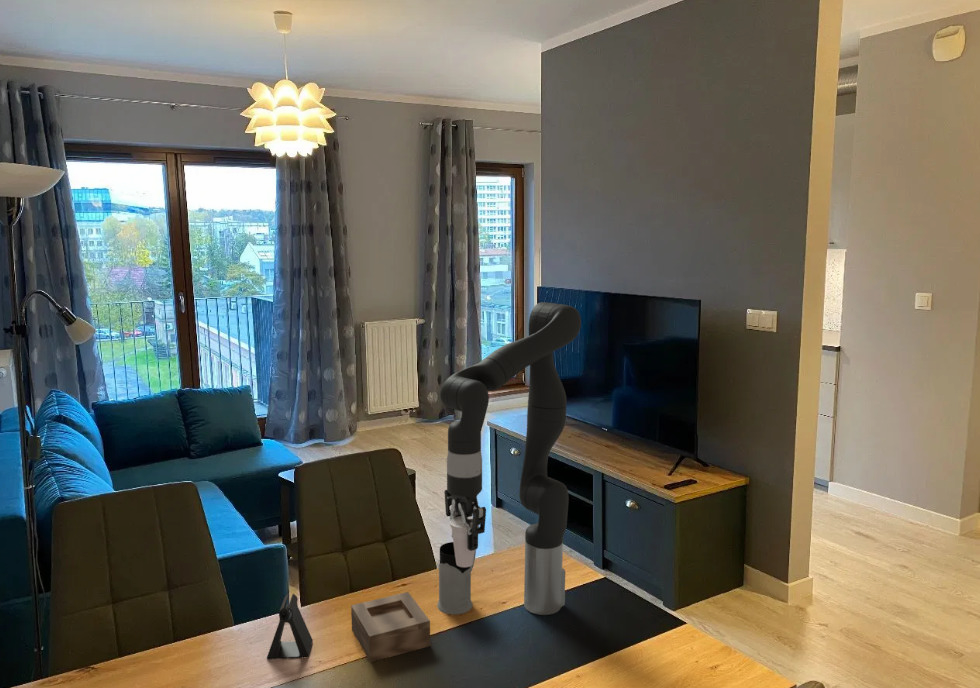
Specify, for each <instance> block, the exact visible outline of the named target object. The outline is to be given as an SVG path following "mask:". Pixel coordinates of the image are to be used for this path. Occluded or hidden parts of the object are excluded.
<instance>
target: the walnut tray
mask: <svg viewBox="0 0 980 688" xmlns="http://www.w3.org/2000/svg"><path fill="white" fill-rule="evenodd" d="M350 607H351V608H350V610H351V611H350V612H351V613H350V614H351V630H352V633H353V635H354V636H355V638H356V640H357V641H358V643H359V645H360V647H361V649H362V650H364V651H363V652H364V654H365V656H366V658H367V659H369V660H368V661H369V663H372V662H376V660H377V661H380V659H381V660H384V659H383V658H385V659H388V658H390V657H394V656H398V655H403V654H406V653H409V652H414V651H417V649H418V650H421V649H424V648H428V647H431V620H430V619H429V617H428V616H427V614H425V612H424V611H423V610H422V608H421V607H420V605H419V604H418V602H417V601H415V599H414V598H413V597H412V595H411V594H410V593H409V591H407V592H402V593H397V594H394V595H393V594H392V595H390V596H385V597H381V598H377V599H372V600H369V601H363V602H359V603H356V604H351V606H350ZM387 657H388V658H387Z"/></svg>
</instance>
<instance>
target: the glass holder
mask: <svg viewBox="0 0 980 688" xmlns="http://www.w3.org/2000/svg"><path fill="white" fill-rule="evenodd" d="M476 550H477V549H476ZM476 550H475V553H474V561H473V565H472V566H470V567H459V566H457V564H456V558H455V551H454V543H453V541H450V542H445V543H444V544H442V545H441V546H440V547H439V564H438V601H437V605H436V607H437V609H438V610H439V611H440V612H442V613H443V614H447V615H462V614H466V613H467V612H469V611H471V610H472V608H473V601H472V599H471V597H472V596H471V595H472V593H471V592H472V589H471V588H472V584H471V583H472V578H471V577H472V572H473V568H474V566H475V565H474V564H475V561H476V553H477V551H476Z"/></svg>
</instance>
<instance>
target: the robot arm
mask: <svg viewBox="0 0 980 688" xmlns="http://www.w3.org/2000/svg"><path fill="white" fill-rule="evenodd" d="M581 329H582V318H581V314H580V313H579V311H578V310H577V309H576V307H574V306H571V305H567V304H562V303H555V302H545V301H542V302H540V301H539V302H538V303H537V304H535V305H534V306H533V308H532V309H531V311H530V314H529V319H528V336H526V337H523V338H520V339H517V340H515V341H511V342H509V343H507V344H504V345H502V346H500V347H499V348H497V349H496V350H494V351H493V352H492V353H490V354H488V355H487V356H486V357H485V358H483V359H482V360H481V361H480V362H477V363H476V364H472V365H471V366H468V367H465V368H463V369H462V370H459V371H457V372H455V373H453V374H451V375H450V376H448V378H446V380H444V382H443V384H442V386H441V387H440V392H439V396H440V401H441V402H442V404H443V405H445V407H446V408H448V409H452V410H454V411H455V410H456V411H458V412H461V417H460V420H455V421H452V422H451V423H450V424H449V426H448V427H447V456H446V489H445V490H444V506H445V515H446V517H449V522H450V521H451V520H452V519H453V518H455V517H459V516H462V519H463V523H464V524H465V525H466V527H467V532H468V534H467V548H468V550H470V551H472V550H478V548H479V535H481V534H483V533H485V532H486V531H485V529H486V517H487V509H486V507H485V506H482V507H481V506H480V505H479V502H478V496H479V495H480V493H481V492H482V490H483V455H482V448H481V447H482V428H483V426H484V422H485V418H486V416H487V415H486V414H487V411H488V408H489V402H490V401H489V400H490V399H489V398H490V396H489V392H491V391H493V392H494V391H496V390H498V389H500V388H501V387H503V386H504V385H506V384H507V383H508V382H509V381H510V380H512V379H513V378H514V377H515V376H517V375H518V374H519V373H520V372H522V371H523V370H524V369H526V368H527V367H529V380H528V397H527V411H526V412H527V413H526V414H527V415H526V436H525V438H526V439H525V448H524V457H523V464H522V470H521V475H520V476H521V477H520V482H519V489H518V490H519V493H518V495H519V501H520V503H521V505H522V506H523V508H525V509H526V510H528V511H530V512H533V513H535V514H537V515H538V522H536V523H533V524H530V525H529V526H528V527H526V528H525V534H524V539H525V540H524V544H525V545H524V580H523V581H524V586H523V587H524V588H523V589H524V591H523V592H524V594H523V595H524V596H523V605H524V608H525V609H526V610H527V611H528V612H530V613H532V614H534V615H540V616H548V615H554V614H556V613H558V612H559V611H560V610H561V609H562V607H564V606H565V603H566V602H565V601H566V599H565V598H566V569H565V568H563V556H564V555H563V554H564V553H563V552H564V551H563V549H564V535H565V534H566V530H567V526H568V525H567V524H568V512H569V492H568V487H567V486H566V485H565V483H563V482H561V481H559V480H556V479H554V478H552V477H549V476H548V462H549V461H548V459H549V456H550V452H551V450H552V448H553V446H554V445H555V444H556V442H557V441H558V439H559V437H560V436H561V435H562V433H563V431H564V428H565V425H566V420H567V418H566V417H567V401H568V400H567V395H566V390H565V388H564V385H563V382H562V381H561V378H560V376H559V373H558V371H557V368H556V366H555V362H554V361H555V360H554V352H555V351H557V350H558V349H561V348H563V347H565V346H566V345H567V346H568V344H570V343H572V342H573V341H574V340H575V339H576V338H577V337H578V335H579V333H580V331H581ZM467 517H473V519H467ZM470 523H472V528H471V525H470ZM451 537H452V539H453V536H452V535H451Z"/></svg>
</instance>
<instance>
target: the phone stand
mask: <svg viewBox="0 0 980 688" xmlns="http://www.w3.org/2000/svg"><path fill="white" fill-rule="evenodd" d="M289 596H290V595H289V593H288V594H286V595H285V596H284V597H283V601H282V604H281V606H280V609H279V611H278V617H279V622H278V625H277V628H276V630H275V633H274V636H273V639H272V642H271V643H270V644H271V645H270V647H269V651H268V654H267V656H266V659H267V660H286V659H289V658H290V659H305V658H304V657H308V658H309V656H310V653H311V649H312V646H313V641H314V640H313V638H312V636H311V633H310V631H309V628H308V626H307V624H306V621H305V619H304V617H303V615H302V613H301V610H300V608H299V606H298V600H299V599H298V596H297V595H296V594H294V593H292V594H291V598H290V601H289V603H287V602H288V599H289ZM285 624H289V627H290V629H291V632H292V636H293V638H294V640H291V641H281V640H282V636H283V633H284V629H285ZM302 657H303V658H302Z"/></svg>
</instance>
